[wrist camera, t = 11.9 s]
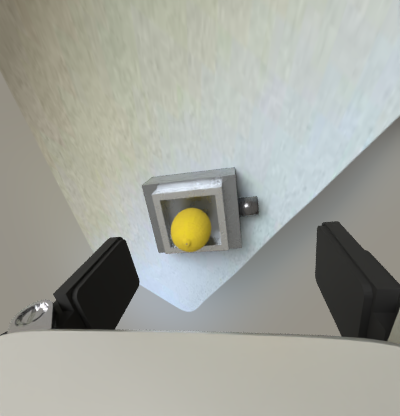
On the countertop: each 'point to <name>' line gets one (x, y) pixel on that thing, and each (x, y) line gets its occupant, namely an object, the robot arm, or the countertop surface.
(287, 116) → the countertop surface
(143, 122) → the countertop surface
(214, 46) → the countertop surface
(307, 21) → the countertop surface
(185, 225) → the lemon
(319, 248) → the robot arm
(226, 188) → the housing
